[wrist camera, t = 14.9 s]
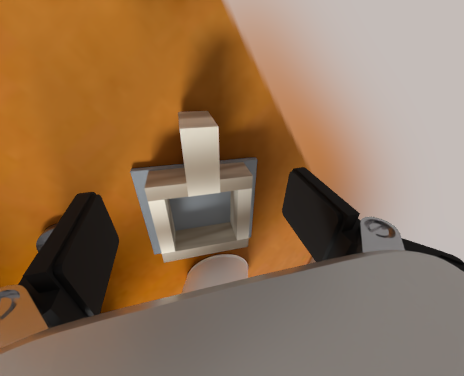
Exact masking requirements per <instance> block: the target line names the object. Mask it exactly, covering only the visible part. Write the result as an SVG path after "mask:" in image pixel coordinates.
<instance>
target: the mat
mask: <svg viewBox="0 0 464 376" xmlns="http://www.w3.org/2000/svg"><path fill="white" fill-rule="evenodd" d="M237 162H244V164H245V165H246V167H247V168H248V170H249V171H250V172H251V174H252V175H253V181H252V196H251V210H250V224H249V238H250V237H251V231H252V219H253V207H254V195H255V182H256V170H257V159H256V157H253V158H242V159H231V160H220V161H219V164H227V163H237ZM176 168H185V167H184V164H177V165H166V166H155V167H144V168H133V169H131V171H130V172H131V176H132V179H133V183H134V186H135V189H136V193H137V196H138V200H139V203H140V206H141V210H142V213H143V217H144V220H145V224H146V227H147V230H148V234H149V237H150V241H151V244H152V247H153V251H154V254H160V253H161V249H160V245H159V241H158V237H157V234H156V230H155V226H154V222H153V219H152V215H151V211H150V207H149V204H148V200H147V196H146V192H145V189H144V188H145V183H146V179H147V175H148V171H155V170H165V169H176ZM230 200H231V191H227V192H220V193H214V194H206V195H198V196H190V197H180V198H172V199H169V201H170V206H171V212H172V217H173V222H174V227H175V231H177V230H184V229H190V228H196V227H203V226H209V225H215V224H221V223H228V222H230Z"/></svg>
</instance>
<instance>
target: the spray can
mask: <svg viewBox="0 0 464 376" xmlns="http://www.w3.org/2000/svg"><path fill="white" fill-rule="evenodd" d="M246 278H248V264H247V262H246V260H245V259H243V258H242V257H240V256H237V255H233V254H220V255H215V256H211V257H208V258H206V259H204V260H202V261H200V262H198V263H197V264H196V265H194V266H193V267H192V268H191V270H190V271H189V273H188V275H187V279H186V282H185V285H184V288H183V291H182V294H183V293H187V292H191V291H195V290H199V289H204V288H208V287H212V286H216V285H220V284H225V283H229V282H233V281H237V280H242V279H246Z"/></svg>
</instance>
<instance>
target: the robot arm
mask: <svg viewBox="0 0 464 376" xmlns="http://www.w3.org/2000/svg"><path fill="white" fill-rule="evenodd" d="M282 213H283V216H284V217H285V218H286V220H287V221H288V223H289V224H290V226H291V227H292V228H293V230H294V231H295V233H296V234H297V236H298V237H299V238H300V240H301V241H302V243H303V244H304V246H305V247H306V248H307V250H308V251H309V253H310V254H311V255H312V257H313V258H314V260H315V261H316V262H315V263H311V264H306V265H302V266H298V267H293V268H289V269H285V270H280V271H276V272H272V273H267V274H263V275H259V276H255V277H250V278H246V279H242V280H237V281H233V282H229V283H225V284H220V285H216V286H212V287H208V288H204V289H199V290H195V291H191V292H187V293H183V294H179V295H174V296H170V297H166V298H162V299H158V300H154V301H149V302H145V303H141V304H137V305H133V306H129V307H125V308H121V309H117V310H113V311H109V312H106V313H102V314H100V311H101V307H102V304H103V300H104V296H105V293H106V289H107V285H108V281H109V278H110V274H111V270H112V267H113V263H114V259H115V256H116V252H117V248H118V244H119V238H118V235H117V233H116V230H115V228H114V226H113V223H112V221H111V219H110V216H109V214H108V212H107V209H106V207H105V205H104V202H103V200H102V198H101V196H100V195H99V194H98V195H96V194H95V193H94V192H88V193H79V194H77V195H76V196H75V198H74V199H73V201H72V202H71V204H70V205H69V207H68V208H67V210H66V212H65V213H64V215H63V216H62V218H61V219H60V221H59V222H58V224H57V225H56V227H55V228H54V230H53V231H52V233H51V234H50V236H49V237H48V239H47V240H46V242H45V243H44V245H43V246H42V248H41V249H40V251H39V252H38V254H37V255H36V257H35V258H34V260H33V261H32V263H31V264H30V266H29V267H28V269H27V270H26V272H25V273H24V275H23V278H22V279H21V281H20V282H19V284H18V285H9V286H5V287H2V288H0V376H464V262H463V261H462V260H460V259H459V258H457V257H455V256H453V255H451V254H447V253H445V252H442V251H439V250H436V249H433V248H430V247H426V246H424V245H421V244H418V243H414V242H412V241H409V240H405V239H402V238H401V236H400V233H399V231H398V230H397V229H396V228H395V227H394V226H393V225H392V224H390V223H389V222H387V221H384V220H382V219H379V218H375V217H365V218H363V219H362V220H361V221H360V220H359V219H358V216H359V214H360V213H358V212H357V211H356V210H355V209H354V208H352V207H351V206H350V205H349V204H348V203H347V202H345V201H344V200H343V199H342V198H340V197H339V196H338V195H337V194H336V193H335V192H333V191H332V190H331V189H330V188H329V187H328V186H326V185H325V184H324V183H323V182H321V181H320V180H319V179H318V178H317V177H316V176H314V175H313V174H312V173H311V172H310V171H308V170H307V169H306V168H304V167H303V168H294V169H293V170H292V171H291V172H290V174H289V179H288V183H287V188H286V193H285V198H284V203H283V208H282Z"/></svg>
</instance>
